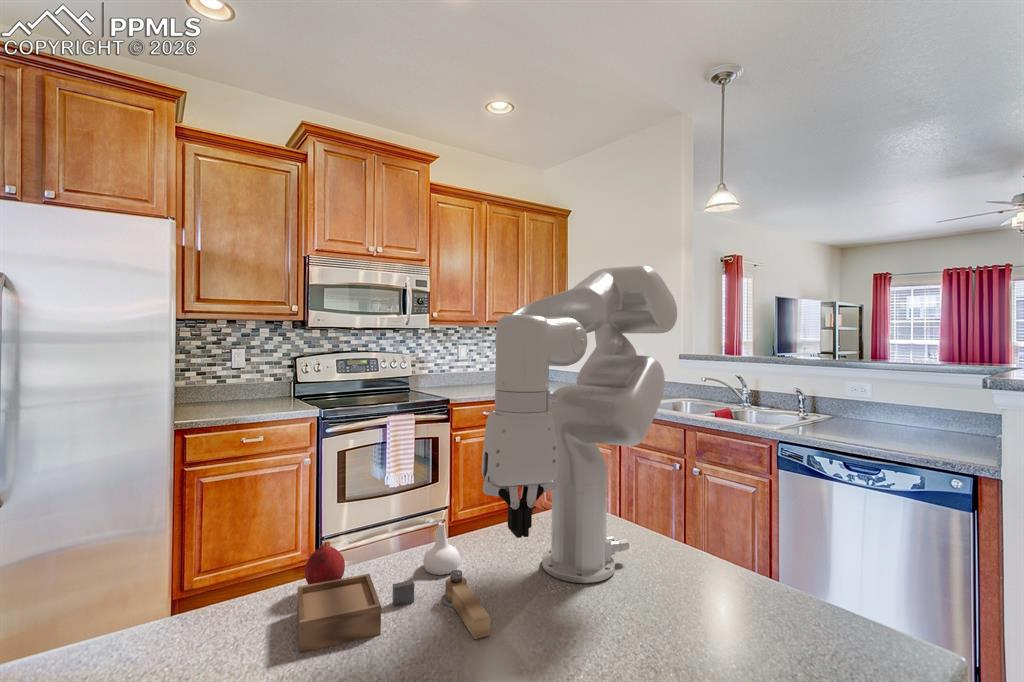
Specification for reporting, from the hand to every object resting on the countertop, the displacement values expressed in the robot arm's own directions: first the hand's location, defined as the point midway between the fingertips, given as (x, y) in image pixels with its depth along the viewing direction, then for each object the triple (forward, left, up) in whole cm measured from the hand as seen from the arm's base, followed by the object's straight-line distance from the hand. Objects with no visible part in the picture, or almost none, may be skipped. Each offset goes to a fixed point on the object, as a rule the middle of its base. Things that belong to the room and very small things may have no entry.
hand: (519, 533), depth 70 cm
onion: (+24, -19, -13) cm, 33 cm away
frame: (+10, -9, -12) cm, 18 cm away
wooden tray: (+23, -10, -12) cm, 28 cm away
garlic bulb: (+5, -20, -13) cm, 24 cm away
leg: (+6, -4, -12) cm, 14 cm away
